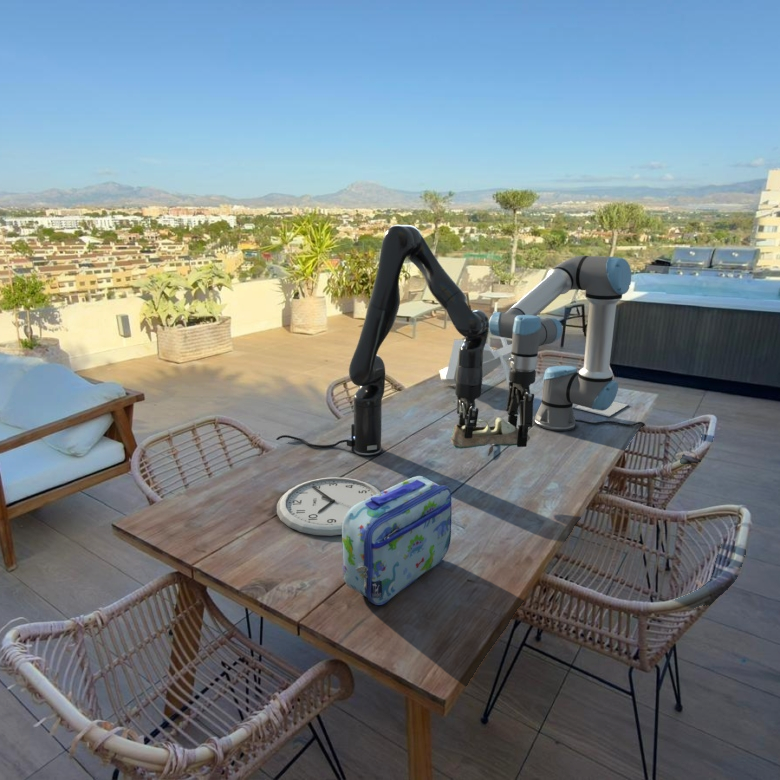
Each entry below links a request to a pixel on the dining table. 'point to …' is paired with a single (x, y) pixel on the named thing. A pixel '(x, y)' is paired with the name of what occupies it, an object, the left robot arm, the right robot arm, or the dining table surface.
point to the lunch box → (395, 537)
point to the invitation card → (608, 412)
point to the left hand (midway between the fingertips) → (465, 433)
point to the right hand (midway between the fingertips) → (516, 440)
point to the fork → (491, 449)
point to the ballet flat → (486, 435)
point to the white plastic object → (490, 360)
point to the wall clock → (322, 504)
